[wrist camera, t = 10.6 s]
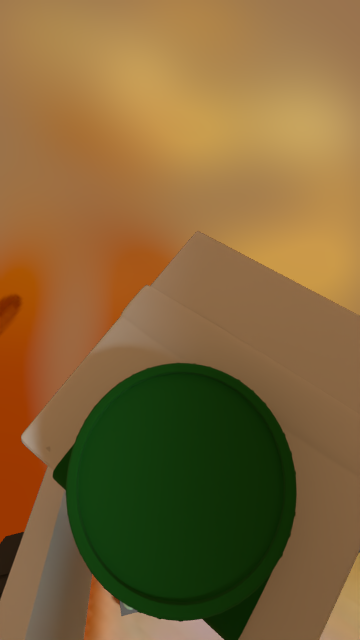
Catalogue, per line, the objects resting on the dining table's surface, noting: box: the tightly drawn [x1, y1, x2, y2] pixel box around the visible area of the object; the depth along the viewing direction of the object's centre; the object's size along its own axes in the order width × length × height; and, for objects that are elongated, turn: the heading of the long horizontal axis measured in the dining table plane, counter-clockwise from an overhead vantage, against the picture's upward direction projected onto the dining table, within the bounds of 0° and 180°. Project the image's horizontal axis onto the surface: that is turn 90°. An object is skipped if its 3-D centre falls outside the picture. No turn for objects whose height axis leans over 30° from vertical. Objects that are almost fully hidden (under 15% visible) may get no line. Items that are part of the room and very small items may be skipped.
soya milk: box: [21, 231, 360, 640], centre depth 15 cm, size 9×9×20 cm
